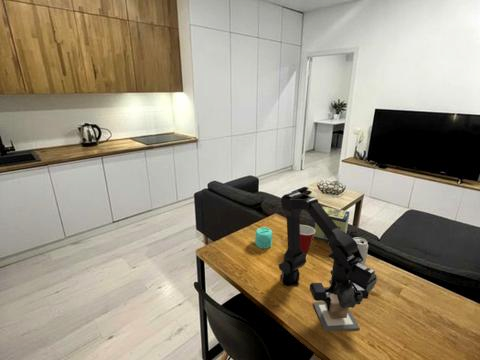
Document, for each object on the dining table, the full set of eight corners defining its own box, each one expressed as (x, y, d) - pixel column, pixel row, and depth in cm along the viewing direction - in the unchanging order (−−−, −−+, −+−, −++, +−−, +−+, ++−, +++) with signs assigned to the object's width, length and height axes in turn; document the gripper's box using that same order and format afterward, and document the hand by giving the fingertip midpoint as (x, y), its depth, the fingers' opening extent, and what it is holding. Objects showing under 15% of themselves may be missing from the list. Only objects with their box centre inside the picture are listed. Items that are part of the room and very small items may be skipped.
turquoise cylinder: (255, 247, 133) (255, 234, 131) (257, 239, 141) (257, 226, 138) (270, 249, 132) (271, 235, 129) (272, 241, 139) (272, 228, 137)
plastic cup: (316, 247, 133) (318, 226, 129) (309, 258, 124) (311, 236, 121) (296, 241, 139) (297, 221, 135) (288, 251, 130) (289, 230, 126)
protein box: (318, 230, 150) (320, 205, 145) (346, 237, 142) (350, 211, 137) (313, 238, 141) (315, 212, 136) (343, 246, 134) (346, 219, 129)
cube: (331, 318, 89) (332, 306, 88) (325, 306, 95) (326, 294, 93) (346, 317, 90) (348, 305, 88) (339, 305, 95) (341, 293, 93)
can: (366, 268, 117) (370, 245, 113) (349, 266, 119) (352, 244, 115) (362, 258, 124) (366, 236, 120) (346, 256, 125) (349, 235, 122)
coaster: (324, 331, 87) (324, 329, 87) (313, 303, 98) (313, 302, 98) (359, 329, 87) (359, 327, 87) (344, 301, 99) (344, 300, 99)
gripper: (322, 291, 79) (317, 330, 84) (381, 289, 80) (373, 327, 85) (310, 268, 89) (307, 303, 94) (363, 266, 90) (357, 301, 95)
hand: (335, 309), depth 92 cm, fingers closed on cube, 5 cm apart
